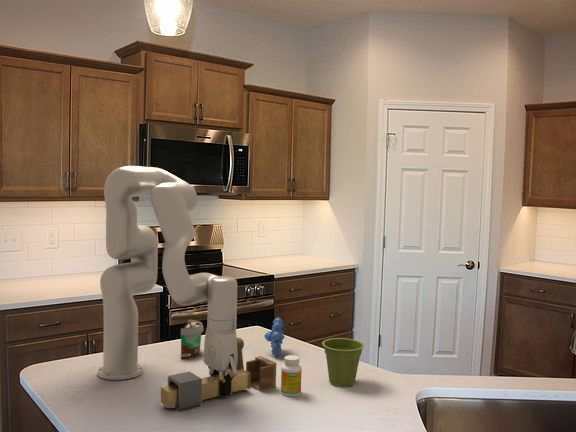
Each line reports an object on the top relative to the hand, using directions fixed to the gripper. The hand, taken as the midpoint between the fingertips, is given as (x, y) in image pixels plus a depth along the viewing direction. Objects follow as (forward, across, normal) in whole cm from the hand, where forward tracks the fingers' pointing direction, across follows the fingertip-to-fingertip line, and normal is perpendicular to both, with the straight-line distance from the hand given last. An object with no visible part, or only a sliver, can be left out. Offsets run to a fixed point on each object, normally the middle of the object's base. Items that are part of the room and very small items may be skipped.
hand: (220, 392), depth 148 cm
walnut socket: (+1, 0, +13) cm, 13 cm away
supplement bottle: (+1, +9, +16) cm, 19 cm away
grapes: (+1, -21, +33) cm, 40 cm away
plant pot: (+1, +11, +34) cm, 35 cm away
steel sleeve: (+1, 0, -10) cm, 11 cm away
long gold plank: (+1, 0, -4) cm, 4 cm away
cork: (+1, -11, +11) cm, 16 cm away
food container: (+1, -35, +11) cm, 37 cm away
